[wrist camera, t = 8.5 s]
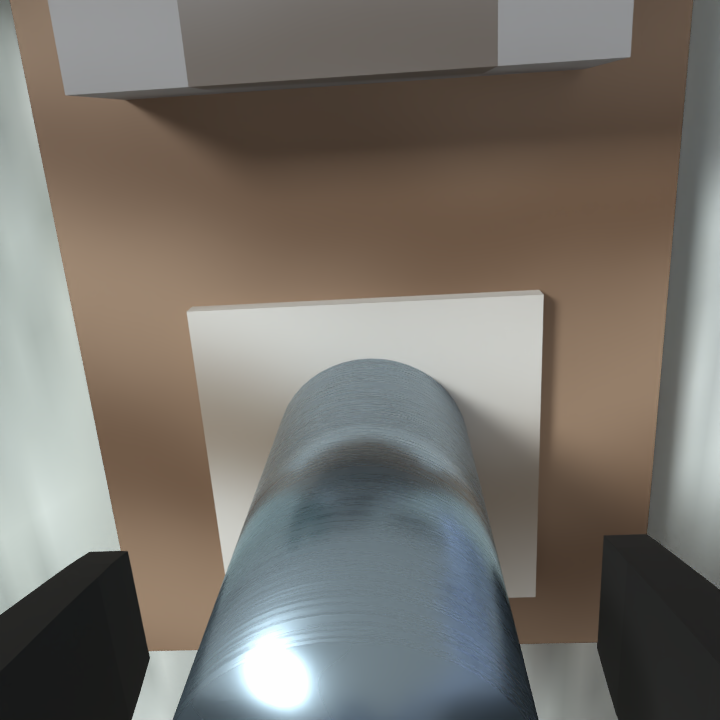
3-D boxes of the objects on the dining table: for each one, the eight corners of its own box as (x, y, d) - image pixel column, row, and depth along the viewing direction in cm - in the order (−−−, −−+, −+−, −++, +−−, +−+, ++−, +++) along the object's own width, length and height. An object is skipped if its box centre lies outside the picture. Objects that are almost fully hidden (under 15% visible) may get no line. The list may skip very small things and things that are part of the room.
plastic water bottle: (508, 446, 14) (669, 892, 6) (375, 562, 15) (359, 1076, 7) (368, 318, 14) (335, 629, 5) (239, 449, 15) (43, 879, 6)
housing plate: (-66, -526, 11) (-265, -808, 8) (720, -623, 10) (879, -982, 7) (154, 623, 18) (100, 736, 15) (623, 612, 17) (678, 729, 14)
